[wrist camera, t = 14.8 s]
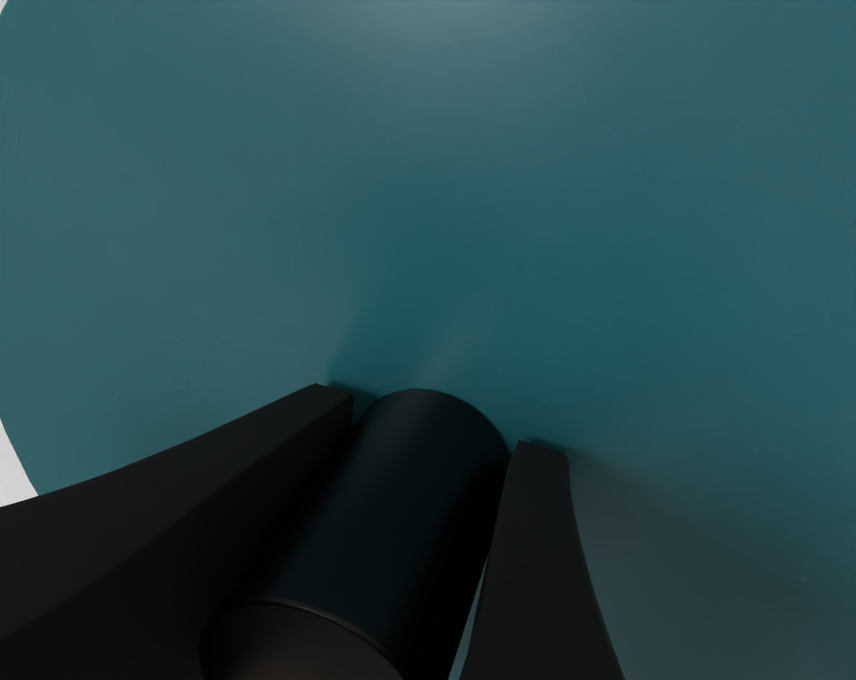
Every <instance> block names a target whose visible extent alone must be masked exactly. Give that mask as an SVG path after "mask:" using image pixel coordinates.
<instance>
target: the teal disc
mask: <svg viewBox="0 0 856 680" xmlns="http://www.w3.org/2000/svg"><path fill="white" fill-rule="evenodd" d="M314 383H317V384H320V385H324V386H328V387H331V388H335V389H338V390H342V391H346V392H349V393H353V394H354V402H353V414H352V426H351V430H350V432H349V433H348V434H347V436H346V437H345V438H344V440H343V441H342V442H341V444H340V445H339V446H338V448H337V449H336V450H335V452H334V453H333V454H332V456H331V457H330V458H329V460H328V461H327V462H326V464H325V465H324V466H323V468H322V469H321V470H320V472H319V473H318V474H317V476H316V477H315V478H314V480H313V481H312V482H311V484H310V485H309V486H308V488H307V489H306V490H305V492H304V493H303V494H302V496H301V497H300V498H299V500H298V501H297V502H296V504H295V505H294V506H293V508H292V509H291V510H290V512H289V513H288V514H287V516H286V517H285V518H284V520H283V521H282V522H281V524H280V525H279V526H278V528H277V529H276V530H275V532H274V533H273V534H272V536H271V537H270V538H269V540H268V541H267V542H266V544H265V545H264V546H263V548H262V549H261V550H260V552H259V553H258V554H257V556H256V557H255V558H254V560H253V561H252V562H251V564H250V565H249V566H248V568H247V569H246V570H245V572H244V573H243V574H242V576H241V577H240V578H239V580H238V581H237V582H236V584H235V585H234V586H233V588H232V589H231V590H230V592H229V593H228V594H227V596H226V597H225V598H224V600H223V601H222V602H221V604H220V605H219V606H218V608H217V609H216V610H215V612H214V613H213V614H212V616H211V617H210V618H209V620H208V621H207V622H206V624H205V627H204V629H203V631H202V635H201V639H200V643H199V659H200V666H201V669H202V673H203V676H204V679H205V680H459V677H460V674H461V671H462V668H463V665H464V662H465V659H466V656H467V652H468V648H469V643H470V638H471V632H472V627H473V622H474V617H475V612H476V608H477V603H478V599H479V594H480V590H481V585H482V581H483V576H484V572H485V567H486V563H487V558H488V554H489V550H490V545H491V540H492V535H493V531H494V526H495V522H496V517H497V513H498V508H499V504H500V499H501V495H502V490H503V486H504V481H505V477H506V472H507V467H508V465H509V462H510V460H511V457H512V454H513V452H514V450H515V447H516V445H517V443H518V440H522V441H525V442H529V443H533V444H536V445H540V446H543V447H547V448H551V449H554V450H558V451H561V452H564V454H565V455H566V457H567V458H568V460H569V461H570V464H569V474H570V487H571V494H572V501H573V507H574V512H575V518H576V523H577V528H578V532H579V537H580V541H581V545H582V548H583V552H584V556H585V560H586V564H587V567H588V571H589V575H590V579H591V582H592V585H593V589H594V592H595V595H596V599H597V602H598V605H599V608H600V611H601V614H602V617H603V620H604V623H605V626H606V629H607V631H608V634H609V637H610V640H611V643H612V646H613V648H614V651H615V654H616V657H617V659H618V662H619V665H620V667H621V670H622V672H623V675H624V677H625V680H856V0H8V1H7V3H6V4H5V6H4V8H3V10H2V12H1V14H0V419H1V421H2V424H3V427H4V429H5V432H6V434H7V436H8V438H9V440H10V442H11V444H12V446H13V448H14V450H15V452H16V454H17V456H18V458H19V460H20V462H21V464H22V466H23V468H24V470H25V472H26V474H27V477H28V479H29V481H30V482H31V484H32V486H33V487H34V489H35V490H36V492H37V494H38V495H39V496H40V495H43V494H46V493H49V492H52V491H55V490H59V489H62V488H65V487H68V486H71V485H74V484H77V483H80V482H83V481H86V480H89V479H92V478H94V477H97V476H100V475H103V474H106V473H108V472H111V471H114V470H117V469H119V468H122V467H124V466H127V465H129V464H132V463H134V462H136V461H139V460H141V459H144V458H146V457H149V456H151V455H154V454H156V453H159V452H161V451H164V450H166V449H169V448H171V447H173V446H176V445H178V444H181V443H183V442H186V441H188V440H191V439H193V438H195V437H198V436H200V435H202V434H204V433H206V432H209V431H211V430H213V429H215V428H217V427H220V426H222V425H224V424H226V423H228V422H231V421H233V420H235V419H237V418H239V417H241V416H244V415H246V414H248V413H250V412H252V411H254V410H257V409H259V408H261V407H263V406H265V405H267V404H269V403H271V402H274V401H276V400H278V399H280V398H282V397H284V396H286V395H289V394H291V393H293V392H295V391H297V390H300V389H302V388H304V387H307V386H309V385H312V384H314Z"/></svg>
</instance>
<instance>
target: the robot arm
mask: <svg viewBox="0 0 856 680" xmlns="http://www.w3.org/2000/svg"><path fill="white" fill-rule="evenodd" d="M353 402H354V394H353V393H349V392H346V391H342V390H338V389H335V388H331V387H328V386H324V385H320V384H317V383H314V384H312V385H309V386H307V387H304V388H302V389H300V390H297V391H295V392H293V393H291V394H289V395H286V396H284V397H282V398H280V399H278V400H276V401H274V402H271V403H269V404H267V405H265V406H263V407H261V408H259V409H257V410H254V411H252V412H250V413H248V414H246V415H244V416H241V417H239V418H237V419H235V420H233V421H231V422H228V423H226V424H224V425H222V426H220V427H217V428H215V429H213V430H211V431H209V432H206V433H204V434H202V435H200V436H198V437H195V438H193V439H191V440H188V441H186V442H183V443H181V444H178V445H176V446H173V447H171V448H169V449H166V450H164V451H161V452H159V453H156V454H154V455H151V456H149V457H146V458H144V459H141V460H139V461H136V462H134V463H132V464H129V465H127V466H124V467H122V468H119V469H117V470H114V471H111V472H108V473H106V474H103V475H100V476H97V477H94V478H92V479H89V480H86V481H83V482H80V483H77V484H74V485H71V486H68V487H65V488H62V489H59V490H55V491H52V492H49V493H46V494H43V495H40V496H36V497H33V498H30V499H27V500H24V501H20V502H17V503H13V504H10V505H7V506H3V507H0V680H205V679H204V676H203V673H202V669H201V666H200V659H199V643H200V639H201V635H202V631H203V629H204V627H205V624H206V622H207V621H208V620H209V618H210V617H211V616H212V614H213V613H214V612H215V610H216V609H217V608H218V606H219V605H220V604H221V602H222V601H223V600H224V598H225V597H226V596H227V594H228V593H229V592H230V590H231V589H232V588H233V586H234V585H235V584H236V582H237V581H238V580H239V578H240V577H241V576H242V574H243V573H244V572H245V570H246V569H247V568H248V566H249V565H250V564H251V562H252V561H253V560H254V558H255V557H256V556H257V554H258V553H259V552H260V550H261V549H262V548H263V546H264V545H265V544H266V542H267V541H268V540H269V538H270V537H271V536H272V534H273V533H274V532H275V530H276V529H277V528H278V526H279V525H280V524H281V522H282V521H283V520H284V518H285V517H286V516H287V514H288V513H289V512H290V510H291V509H292V508H293V506H294V505H295V504H296V502H297V501H298V500H299V498H300V497H301V496H302V494H303V493H304V492H305V490H306V489H307V488H308V486H309V485H310V484H311V482H312V481H313V480H314V478H315V477H316V476H317V474H318V473H319V472H320V470H321V469H322V468H323V466H324V465H325V464H326V462H327V461H328V460H329V458H330V457H331V456H332V454H333V453H334V452H335V450H336V449H337V448H338V446H339V445H340V444H341V442H342V441H343V440H344V438H345V437H346V436H347V434H348V433H349V432H350V430H351V426H352V414H353ZM569 464H570V461H569V460H568V458H567V457H566V455H565V454H564V452H561V451H558V450H554V449H551V448H547V447H543V446H540V445H536V444H533V443H529V442H525V441H522V440H518V443H517V445H516V447H515V450H514V452H513V454H512V457H511V460H510V462H509V465H508V467H507V472H506V477H505V481H504V486H503V490H502V495H501V499H500V504H499V508H498V513H497V517H496V522H495V526H494V531H493V535H492V540H491V545H490V550H489V554H488V558H487V563H486V567H485V572H484V576H483V581H482V585H481V590H480V594H479V599H478V603H477V608H476V612H475V617H474V622H473V627H472V632H471V638H470V643H469V648H468V652H467V656H466V659H465V662H464V665H463V668H462V671H461V674H460V677H459V680H625V677H624V675H623V672H622V670H621V667H620V665H619V662H618V659H617V657H616V654H615V651H614V648H613V646H612V643H611V640H610V637H609V634H608V631H607V629H606V626H605V623H604V620H603V617H602V614H601V611H600V608H599V605H598V602H597V599H596V595H595V592H594V589H593V585H592V582H591V579H590V575H589V571H588V567H587V564H586V560H585V556H584V552H583V548H582V545H581V541H580V537H579V532H578V528H577V523H576V518H575V512H574V507H573V501H572V494H571V487H570V474H569Z"/></svg>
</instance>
